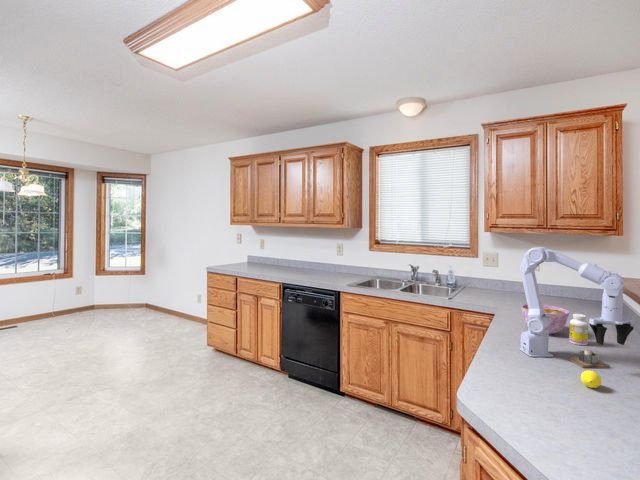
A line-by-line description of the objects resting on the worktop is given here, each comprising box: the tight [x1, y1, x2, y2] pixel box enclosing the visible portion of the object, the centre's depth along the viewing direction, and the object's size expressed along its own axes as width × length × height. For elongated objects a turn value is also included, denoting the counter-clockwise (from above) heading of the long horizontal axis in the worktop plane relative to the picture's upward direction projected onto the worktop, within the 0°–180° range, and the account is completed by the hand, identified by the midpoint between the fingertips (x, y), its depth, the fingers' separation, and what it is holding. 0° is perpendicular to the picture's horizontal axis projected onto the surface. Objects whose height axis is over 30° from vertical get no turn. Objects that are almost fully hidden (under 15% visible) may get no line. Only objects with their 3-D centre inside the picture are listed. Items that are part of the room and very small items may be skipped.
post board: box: [566, 349, 611, 369], centre depth 130 cm, size 10×8×5 cm
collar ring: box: [578, 350, 599, 364], centre depth 130 cm, size 6×6×3 cm
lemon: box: [580, 369, 602, 389], centre depth 112 cm, size 7×5×5 cm
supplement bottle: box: [568, 313, 589, 346], centre depth 152 cm, size 7×7×13 cm
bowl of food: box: [520, 303, 570, 335], centre depth 168 cm, size 20×20×12 cm
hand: (610, 343), depth 124 cm, fingers open, 7 cm apart
